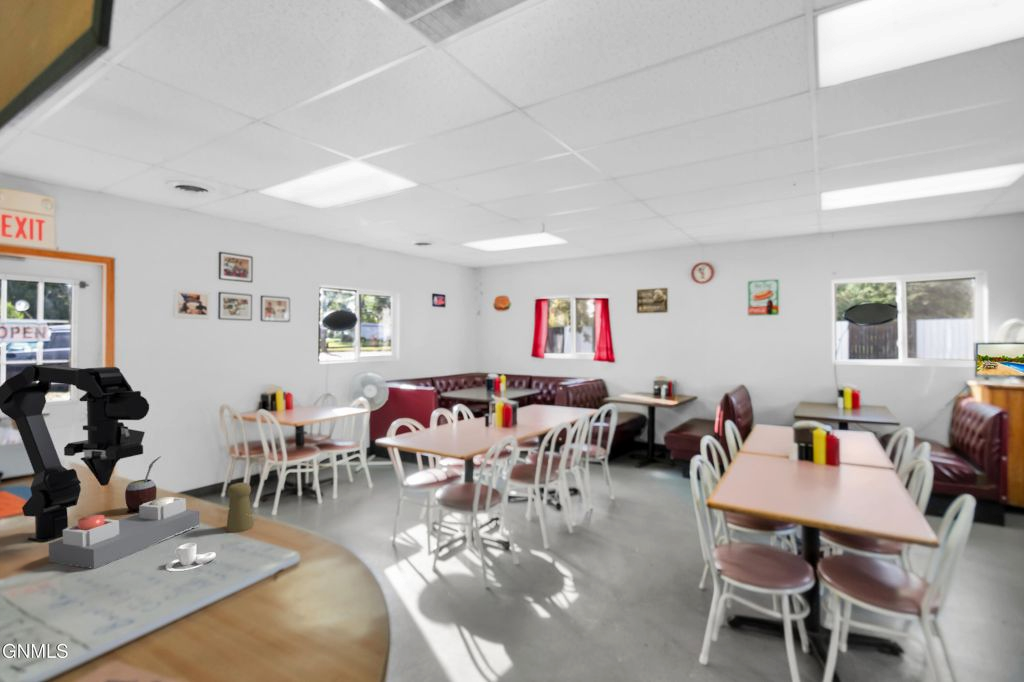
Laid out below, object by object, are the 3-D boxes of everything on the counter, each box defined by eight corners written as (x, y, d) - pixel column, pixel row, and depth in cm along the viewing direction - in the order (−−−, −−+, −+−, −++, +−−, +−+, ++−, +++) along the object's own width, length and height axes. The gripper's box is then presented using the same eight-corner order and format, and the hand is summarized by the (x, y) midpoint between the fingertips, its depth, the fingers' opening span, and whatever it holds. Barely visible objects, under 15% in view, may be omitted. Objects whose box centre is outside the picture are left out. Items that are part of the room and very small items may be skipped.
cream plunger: (147, 514, 122) (147, 501, 122) (165, 508, 127) (165, 496, 127) (161, 516, 121) (160, 503, 121) (178, 510, 125) (177, 497, 125)
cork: (241, 533, 120) (240, 487, 120) (220, 531, 122) (219, 486, 122) (259, 523, 126) (258, 480, 126) (238, 522, 127) (237, 480, 127)
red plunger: (73, 535, 107) (72, 521, 107) (95, 528, 111) (95, 514, 111) (87, 537, 106) (86, 522, 106) (109, 530, 110) (109, 515, 110)
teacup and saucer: (222, 559, 107) (222, 540, 107) (187, 576, 99) (186, 556, 99) (192, 554, 110) (192, 536, 110) (156, 570, 102) (155, 551, 102)
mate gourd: (124, 510, 140) (123, 457, 140) (158, 503, 145) (157, 452, 145) (127, 516, 134) (125, 461, 134) (162, 509, 140) (161, 456, 140)
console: (49, 561, 107) (48, 528, 107) (158, 521, 130) (158, 494, 130) (94, 569, 103) (93, 535, 103) (199, 526, 125) (198, 498, 125)
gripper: (164, 415, 123) (166, 478, 123) (112, 413, 129) (113, 473, 129) (116, 423, 113) (118, 492, 113) (61, 420, 118) (63, 486, 118)
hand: (104, 485), depth 118 cm, fingers closed
